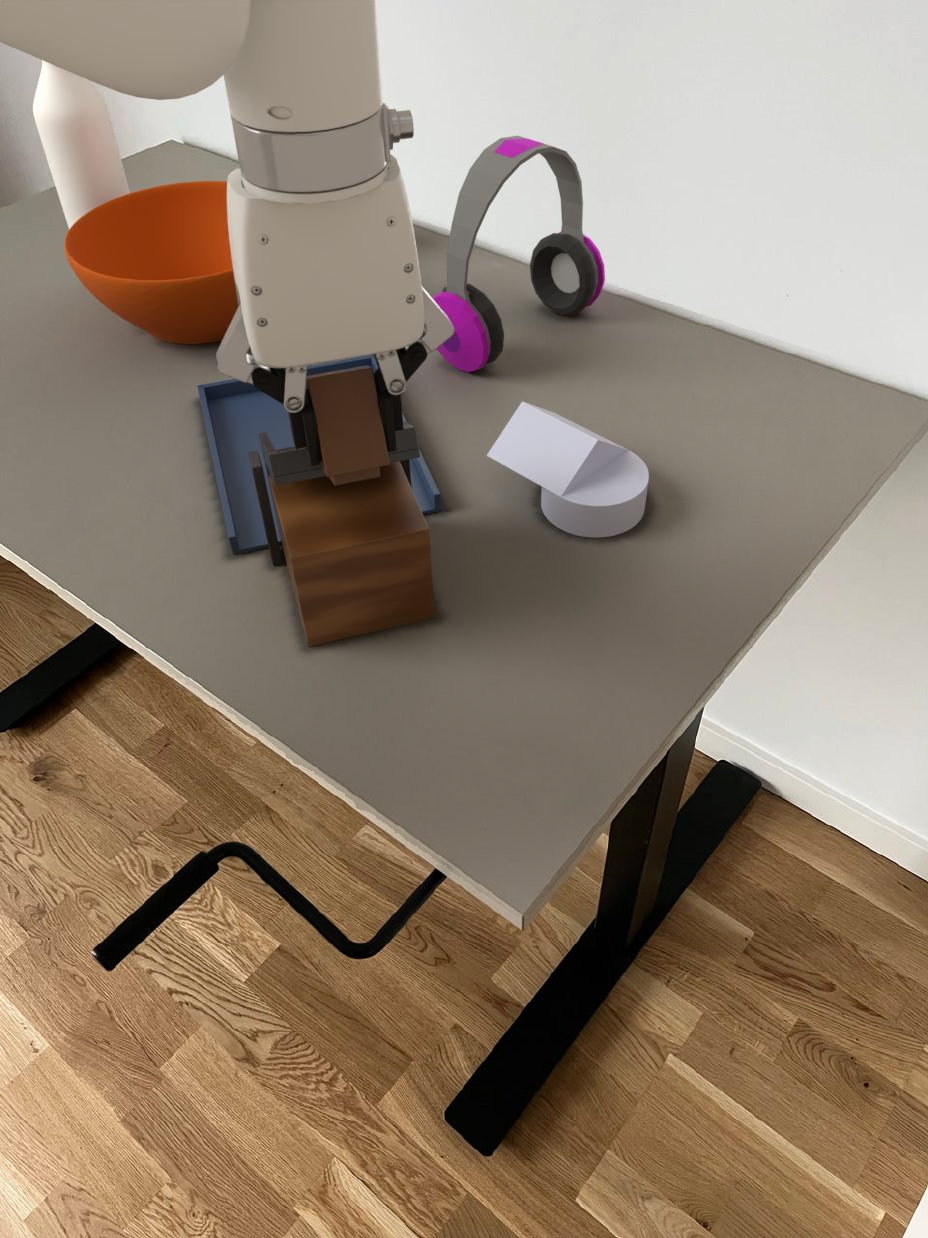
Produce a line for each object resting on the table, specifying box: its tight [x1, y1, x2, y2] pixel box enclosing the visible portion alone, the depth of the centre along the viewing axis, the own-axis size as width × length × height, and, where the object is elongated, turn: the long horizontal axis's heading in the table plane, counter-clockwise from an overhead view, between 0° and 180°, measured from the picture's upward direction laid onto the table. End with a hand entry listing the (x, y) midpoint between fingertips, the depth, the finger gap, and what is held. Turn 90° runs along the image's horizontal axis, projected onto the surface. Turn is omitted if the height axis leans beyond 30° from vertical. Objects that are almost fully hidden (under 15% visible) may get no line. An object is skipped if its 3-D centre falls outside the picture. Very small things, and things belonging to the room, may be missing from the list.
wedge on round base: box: [486, 401, 650, 538], centre depth 85 cm, size 9×7×13 cm
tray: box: [196, 354, 442, 555], centre depth 92 cm, size 25×18×2 cm
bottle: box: [32, 60, 131, 230], centre depth 112 cm, size 8×8×30 cm
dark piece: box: [259, 366, 420, 486], centre depth 68 cm, size 18×10×7 cm, turn 17°
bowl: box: [63, 180, 239, 345], centre depth 109 cm, size 25×25×10 cm
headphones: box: [432, 135, 606, 373], centre depth 100 cm, size 21×9×20 cm, turn 136°
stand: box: [248, 451, 436, 648], centre depth 76 cm, size 12×12×10 cm
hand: (349, 443), depth 63 cm, fingers closed on dark piece, 4 cm apart
